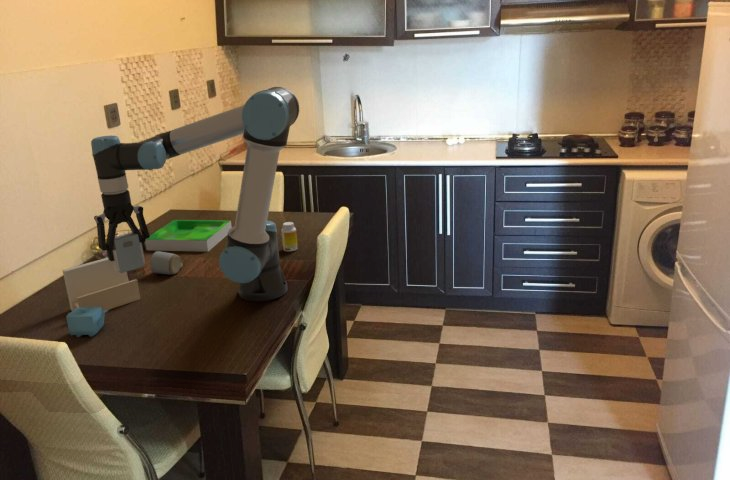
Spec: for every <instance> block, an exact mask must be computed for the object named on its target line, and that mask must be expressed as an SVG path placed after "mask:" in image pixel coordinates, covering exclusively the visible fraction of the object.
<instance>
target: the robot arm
mask: <svg viewBox="0 0 730 480" xmlns="http://www.w3.org/2000/svg"><path fill="white" fill-rule="evenodd" d="M299 114H300V105H299V101H298V98H297V97H296V95H295V94H294V93H293V92H292V91H291V90H289V89H288V88H285V87H282V86H274V87H270V88H267V89H263V90H260V91H257V92H255V93H253V94H252V95H251V96H250V97H249V98H248V99H247V100H246V101H245V103H244V104H243V105H240V106H238V107H234V108H231V109H228V110H226V111H222V112H220V113H217V114H213V115H212V116H208V117H206V118H202V119H200V120H197V121H194V122H191V123H188V124H184V125H183V126H179V127H177V128H174V129H172V130H168V131H165V132H162V133H159V134H156V135H154V136H151V137H149V138H147V139H144V140H142V141H139V142H127V143H126V142H121V141H120V138H119V136H118V135H103V136H97V137H94V138H92V139H91V141H90V146H91V151H92V152H91V156H92V159H93V162H94V165H95V171H96V174H97V175H96V176H97V181H98V182H97V183H98V185H99V186H98V187H99V191H100V192H101V194H100V195H101V196H100V197H101V201H102V202H101V203H102V206H103V212H102V214H100V215H94V217H93V219H94V221H95V223H96V230H97V243H98V244H97V245H98V249H99V250H101V251H104V252H105V251H106V254H107V255H106V256H107V258H108V259H109V260H110V261H112V263H113V268H114V270H115V271H117V272H119V271H120V267H119V263H118V258H117V253H116V250H115V249H113V246H114V240H115V237H116V233H117V229H118V225H120V224H122V223H126V224H127V226H128V227H129V229H130V231H131V232H133V233H135V234H138V237H139V243H140V248H141V253H142V258H143V264H146V259H145V254H144V252H146V251H147V250H146V243H145V241H146V240H145V239H147V238H149V237H150V235H151V234H150V232H149V229H148V226H147V222H146V219H145V217H144V207H143V206H141V205H136V206H135V205H134V204H132V198H131V195H130V193H131V192H130V191H129V184H128V178H127V173H126V171H152V170H159V169H162V168H163V167H164V166H165V164H166V162H167V160H169V159H173V158H175V157H179V156H181V155H184V154H187V153H189V152H192V151H197V150H199V149H202V148H205V147H208V146H211V145H214V144H217V143H220V142H223V141H226V140H229V139H232V138H235V137H238V136H241V135H242V138H243V140H244V141H245V143H246V144H247V147H246V152H245V160H244V164H243V165H244V167H243V172H242V177H241V184H240V191H239V195H238V202H237V209H236V214H235V215H236V216H235V220H234V222H235V223H234V226H232V228H230V229H229V231H228V235H227V236H226V242H225V248H224V249H223V250H222V252H221V253H220V256H219V259H218V264H219V269H220V271H221V272H222V273H223V275H224V276H225V277H226V278H227V279H228V280H230V281H231V282H234V283H237V284H239V285H238V295H239V297H240V298H241V299H243V300H246V301H248V302H249V301H250V302H267V301H268V302H269V301H271V300H276V299H279V298H280V297H283V296H284V295H285V294H287V292H288V282H287V279H286V277H285V275H284V272H283V270H282V268H281V263H280V252H279V241H278V240H279V239H278V229H277V224H276V223H275V222H274V221H272V220H268V218H269V212H270V207H271V200H272V195H273V189H274V183H275V179H276V173H277V168H278V164H279V163H278V161H279V156H280V151H281V150H282V149H284V148H286V147H287V144H288V139H289V133H290V128H291V126H292V125H294V124H295V123H296V121H297V119H298V118H299ZM133 213H134V214H135V217H136V220H137V223H138V226H139V228H138V226H137V225H136V224H135V221H134V219H133V218H132V214H133ZM106 219H107V220H108V223H107V224H108V227H107V228H108V229H107V235H106V228H105V226H106V225H105V221H106ZM139 229H140V230H139Z"/></svg>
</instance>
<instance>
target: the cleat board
mask: <svg viewBox="0 0 730 480" xmlns="http://www.w3.org/2000/svg"><path fill="white" fill-rule="evenodd" d="M62 274H63V279H64V283H65V288H66V293H67V298H68V302H69V307H70V310H71V312H72V311H73V310H74V309H75V308H81V307H101V309H102V311H104V310H112V309H115V308H119V307H121V306H124V305H127V304H131V303H133V302H136V301H139V300H141V294H140V288H139V283H138V279H136V278H135V279H132V280H129V277H128V271H127V272H124V273H120V272H117V271H115V270H114V268H113V263H112V261H110V260H109V259H108V257H105V258H101V259H98V260H94V261H90V262H87V263H83V264H78V265H76V266H72V267H68V268H66V269H62Z"/></svg>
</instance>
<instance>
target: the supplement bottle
mask: <svg viewBox="0 0 730 480" xmlns="http://www.w3.org/2000/svg"><path fill="white" fill-rule="evenodd" d="M280 233H281V242H282V250H283V251H284V252H294V251H297V250H298V248H299V247H298V245H299V244H298V237H297V236H298V235H297V228H296V227H295V224H294V222H292V221H287V222H286V221H285V222H284V223H282V228H281V232H280Z"/></svg>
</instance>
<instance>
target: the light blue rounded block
mask: <svg viewBox="0 0 730 480" xmlns="http://www.w3.org/2000/svg"><path fill="white" fill-rule="evenodd" d="M109 310H110V309H109ZM109 310H104V311H102V309H101V307H81V308H75V309H74V310H73V311H72V310H71V311H70V312H68V313H67V315H66V317H65V319H66V323H67V327H68V333H69V336H75V337H76V338H81V337H82V336H87V335H88V337H95V335H97V334H98V332H99V331H100V330H101V329H102V328H103V327H104V325H105V314H107V312H109Z"/></svg>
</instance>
